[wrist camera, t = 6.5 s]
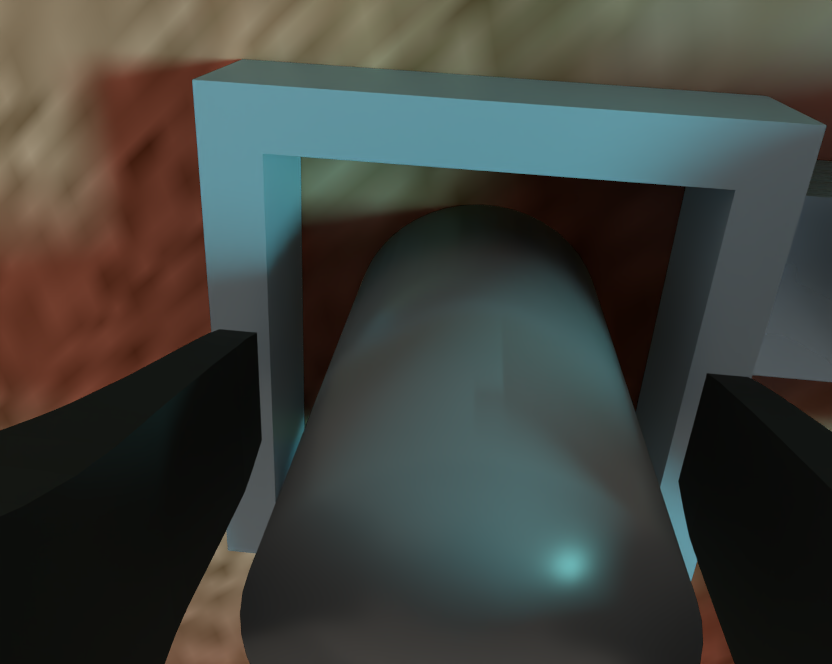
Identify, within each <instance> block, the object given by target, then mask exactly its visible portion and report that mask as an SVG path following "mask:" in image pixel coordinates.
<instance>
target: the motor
mask: <svg viewBox="0 0 832 664" xmlns="http://www.w3.org/2000/svg"><path fill="white" fill-rule="evenodd" d="M753 375H759V376H770V377H781V378H792V379H803V380H814V381H825V382H832V161H822V160H816V163H815V166H814V170H813V173H812V177H811V180H810V183H809V187H808V190H807V193H806V197H805V200H804V203H803V207H802V210H801V213H800V217H799V220H798V224H797V227H796V230H795V234H794V237H793V240H792V244H791V247H790V250H789V254H788V257H787V261H786V264H785V267H784V271H783V274H782V277H781V281H780V284H779V287H778V291H777V294H776V297H775V301H774V304H773V308H772V311H771V314H770V318H769V321H768V324H767V328H766V331H765V334H764V338H763V341H762V345H761V348H760V351H759V355H758V358H757V361H756V365H755V368H754V371H753Z"/></svg>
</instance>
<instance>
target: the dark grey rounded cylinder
mask: <svg viewBox="0 0 832 664" xmlns="http://www.w3.org/2000/svg"><path fill="white" fill-rule="evenodd" d="M240 620H241V635H242V639H243V643H244V647H245V652H246V655H247V658H248V660H249V663H250V664H700V661H701V654H702V647H703V634H702V620H701V615H700V611H699V607H698V603H697V599H696V596H695V593H694V590H693V587H692V584H691V580H690V577H689V574H688V571H687V568H686V565H685V562H684V559H683V556H682V553H681V550H680V547H679V544H678V541H677V538H676V535H675V532H674V529H673V526H672V522H671V519H670V516H669V513H668V510H667V507H666V504H665V501H664V498H663V495H662V492H661V489H660V486H659V483H658V480H657V477H656V474H655V471H654V468H653V465H652V461H651V458H650V455H649V452H648V449H647V446H646V443H645V440H644V437H643V434H642V431H641V428H640V425H639V422H638V419H637V416H636V413H635V410H634V407H633V404H632V400H631V397H630V394H629V391H628V388H627V385H626V382H625V379H624V376H623V373H622V370H621V367H620V364H619V361H618V358H617V355H616V352H615V349H614V346H613V342H612V339H611V336H610V333H609V330H608V327H607V324H606V321H605V318H604V315H603V312H602V309H601V306H600V303H599V300H598V297H597V294H596V291H595V288H594V285H593V282H592V279H591V277H590V274H589V272H588V270H587V268H586V266H585V264H584V263H583V261H582V259H581V258H580V256H579V255H578V253H577V252H576V251H575V250H574V248H573V247H572V246H571V245H570V244H569V243H568V242H567V241H566V240H565V239H564V238H563V237H562V236H561V235H560V234H559V233H558V232H556V231H555V230H553V229H552V228H551V227H549V226H548V225H546V224H545V223H543V222H541V221H539V220H537V219H535V218H533V217H531V216H529V215H527V214H524V213H521V212H518V211H516V210H513V209H508V208H503V207H499V206H490V205H462V206H456V207H450V208H445V209H442V210H439V211H435V212H432V213H429V214H427V215H425V216H423V217H421V218H418V219H416V220H414V221H413V222H411V223H410V224H408V225H406V226H405V227H403V228H402V229H401V230H399V231H398V232H397V233H396V234H394V235H393V236H392V237H391V238H390V239H389V240H388V241H387V242H386V243H385V244H384V245H383V246H382V247H381V249H380V250H379V251H378V253H377V254H376V255H375V257H374V258H373V260H372V261H371V263H370V265H369V267H368V269H367V271H366V273H365V275H364V278H363V280H362V283H361V285H360V288H359V290H358V293H357V296H356V298H355V301H354V303H353V306H352V308H351V311H350V313H349V316H348V319H347V321H346V324H345V326H344V329H343V331H342V334H341V337H340V339H339V342H338V344H337V347H336V349H335V352H334V355H333V357H332V360H331V362H330V365H329V367H328V370H327V373H326V375H325V378H324V380H323V383H322V385H321V388H320V390H319V393H318V396H317V398H316V401H315V403H314V406H313V408H312V411H311V414H310V416H309V419H308V421H307V424H306V426H305V429H304V432H303V434H302V437H301V439H300V442H299V444H298V447H297V450H296V452H295V455H294V457H293V460H292V462H291V465H290V467H289V470H288V473H287V475H286V478H285V480H284V483H283V485H282V488H281V491H280V493H279V496H278V498H277V501H276V503H275V506H274V509H273V511H272V514H271V516H270V519H269V521H268V524H267V527H266V529H265V532H264V534H263V537H262V539H261V542H260V545H259V547H258V550H257V552H256V555H255V557H254V560H253V562H252V565H251V568H250V570H249V573H248V576H247V580H246V583H245V586H244V589H243V593H242V601H241V610H240Z"/></svg>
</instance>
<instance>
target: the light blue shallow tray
mask: <svg viewBox="0 0 832 664" xmlns="http://www.w3.org/2000/svg"><path fill="white" fill-rule="evenodd" d="M192 84H193V97H194V110H195V123H196V136H197V149H198V162H199V175H200V189H201V202H202V215H203V228H204V241H205V254H206V267H207V280H208V293H209V307H210V320H211V332H213V331H216V330H218V329H224V330H235V331H246V332H257V343H258V365H259V387H260V409H261V431H262V442H261V445H260V448H259V451H258V454H257V457H256V461H255V464H254V467H253V470H252V473H251V476H250V479H249V482H248V485H247V487H246V490H245V493H244V495H243V497H242V499H241V501H240V503H239V505H238V507H237V509H236V511H235V514H234V516H233V518H232V520H231V522H230V524H229V526H228V528H227V543H228V550H229V551H239V552H248V553H256V552H257V550H258V547H259V545H260V542H261V539H262V537H263V534H264V532H265V529H266V527H267V524H268V521H269V519H270V516H271V514H272V511H273V509H274V506H275V503H276V501H277V498H278V496H279V493H280V491H281V488H282V485H283V483H284V480H285V478H286V475H287V473H288V470H289V467H290V465H291V462H292V460H293V457H294V455H295V452H296V450H297V447H298V444H299V442H300V439H301V437H302V434H303V432H304V361H303V291H302V221H301V157H313V158H325V159H338V160H351V161H364V162H377V163H390V164H403V165H416V166H429V167H442V168H455V169H468V170H481V171H494V172H507V173H520V174H533V175H546V176H558V177H571V178H584V179H597V180H610V181H623V182H636V183H649V184H662V185H675V186H686V188H685V193H684V197H683V202H682V206H681V211H680V215H679V220H678V224H677V229H676V233H675V238H674V242H673V247H672V251H671V256H670V260H669V265H668V269H667V274H666V278H665V283H664V287H663V292H662V296H661V301H660V305H659V310H658V314H657V319H656V323H655V328H654V332H653V337H652V341H651V346H650V350H649V355H648V359H647V364H646V368H645V373H644V377H643V382H642V386H641V391H640V395H639V400H638V404H637V409H636V416H637V419H638V422H639V425H640V428H641V431H642V434H643V437H644V440H645V443H646V446H647V449H648V452H649V455H650V458H651V461H652V465H653V468H654V471H655V474H656V477H657V480H658V483H659V486H660V489H661V492H662V495H663V498H664V501H665V504H666V507H667V510H668V513H669V516H670V519H671V522H672V526H673V529H674V532H675V535H676V538H677V541H678V544H679V547H680V550H681V553H682V556H683V559H684V562H685V565H686V568H687V571H688V574H689V577H690V580H692V576H693V573H694V570H695V566H696V563H697V558H696V555H695V553H694V550H693V547H692V544H691V541H690V538H689V534H688V529H687V524H686V520H685V515H684V510H683V505H682V499H681V494H680V489H679V483H678V480H679V476H680V472H681V469H682V465H683V461H684V457H685V454H686V450H687V446H688V442H689V439H690V435H691V431H692V427H693V424H694V420H695V416H696V412H697V408H698V405H699V401H700V397H701V393H702V390H703V386H704V382H705V378H706V375H707V373H710V374H721V375H732V376H743V377H749V378H752V375H753V371H754V368H755V365H756V361H757V358H758V355H759V351H760V348H761V345H762V341H763V338H764V334H765V331H766V328H767V324H768V321H769V318H770V314H771V311H772V308H773V304H774V301H775V297H776V294H777V291H778V287H779V284H780V281H781V277H782V274H783V271H784V267H785V264H786V261H787V257H788V254H789V250H790V247H791V244H792V240H793V237H794V234H795V230H796V227H797V224H798V220H799V217H800V213H801V210H802V207H803V203H804V200H805V197H806V193H807V190H808V187H809V183H810V180H811V177H812V173H813V170H814V166H815V163H816V160H817V156H818V153H819V150H820V146H821V143H822V140H823V136H824V133H825V130H826V126H827V125H825V124H823V123H821V122H819V121H817V120H815V119H813V118H811V117H809V116H807V115H805V114H802V113H800V112H798V111H796V110H794V109H792V108H790V107H788V106H786V105H784V104H782V103H780V102H778V101H776V100H774V99H772V98H770V97H768V96H759V95H745V94H731V93H717V92H703V91H688V90H674V89H660V88H646V87H631V86H617V85H603V84H589V83H575V82H560V81H546V80H532V79H518V78H504V77H489V76H475V75H461V74H447V73H433V72H418V71H404V70H390V69H376V68H362V67H347V66H333V65H319V64H305V63H291V62H276V61H262V60H248V59H242V60H240V61H237V62H235V63H232V64H230V65H227V66H225V67H222V68H220V69H217V70H215V71H212V72H210V73H207V74H205V75H203V76H200V77H198V78H195V79H193V80H192Z"/></svg>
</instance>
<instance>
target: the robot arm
mask: <svg viewBox="0 0 832 664" xmlns="http://www.w3.org/2000/svg"><path fill="white" fill-rule="evenodd" d="M261 442H262V431H261V409H260V387H259V365H258V343H257V332H246V331H235V330H224V329H218V330H216V331H213V332H211V333H209V334H206V335H204V336H202V337H200V338H198V339H196V340H194V341H192V342H191V343H189V344H187V345H185V346H183V347H181V348H179V349H177V350H176V351H174V352H172V353H170V354H168V355H166V356H164V357H163V358H161V359H159V360H157V361H155V362H153V363H151V364H149V365H148V366H146V367H144V368H142V369H140V370H138V371H136V372H134V373H132V374H131V375H129V376H127V377H125V378H123V379H120V380H118V381H116V382H114V383H112V384H110V385H108V386H106V387H104V388H102V389H100V390H97V391H95V392H93V393H91V394H89V395H87V396H85V397H83V398H81V399H79V400H77V401H74V402H72V403H70V404H68V405H65V406H63V407H61V408H58V409H56V410H53V411H51V412H48V413H46V414H44V415H41V416H38V417H36V418H33V419H30V420H28V421H25V422H22V423H20V424H17V425H14V426H12V427H9V428H6V429H3V430H0V664H165V661H166V659H167V656H168V653H169V651H170V648H171V645H172V643H173V640H174V637H175V635H176V632H177V630H178V628H179V625H180V623H181V621H182V619H183V616H184V614H185V612H186V610H187V607H188V605H189V603H190V601H191V599H192V597H193V595H194V593H195V591H196V589H197V587H198V585H199V583H200V581H201V579H202V578H203V576H204V574H205V572H206V570H207V568H208V566H209V564H210V562H211V560H212V558H213V556H214V554H215V552H216V550H217V548H218V546H219V544H220V542H221V540H222V538H223V536H224V534H225V532H226V530H227V528H228V526H229V524H230V522H231V520H232V518H233V516H234V514H235V511H236V509H237V507H238V505H239V503H240V501H241V499H242V497H243V495H244V493H245V490H246V487H247V485H248V482H249V479H250V476H251V473H252V470H253V467H254V464H255V461H256V457H257V454H258V451H259V448H260V445H261ZM678 483H679V489H680V494H681V499H682V505H683V510H684V515H685V520H686V524H687V529H688V534H689V538H690V541H691V544H692V547H693V550H694V553H695V555H696V558H697V561H698V564H699V567H700V570H701V572H702V575H703V578H704V581H705V584H706V586H707V589H708V592H709V595H710V597H711V600H712V603H713V605H714V608H715V611H716V614H717V616H718V619H719V622H720V625H721V627H722V630H723V633H724V636H725V638H726V641H727V644H728V647H729V649H730V652H731V655H732V657H733V660H734V663H735V664H832V432H831V431H830V430H828V429H827V428H826V427H824V426H823V425H821V424H820V423H818V422H817V421H815V420H814V419H812V418H811V417H810V416H808V415H807V414H805V413H804V412H802V411H801V410H799V409H798V408H797V407H795V406H794V405H792V404H791V403H789V402H788V401H786V400H785V399H783V398H782V397H780V396H779V395H777V394H776V393H774V392H773V391H771V390H770V389H768V388H767V387H765V386H763V385H762V384H760V383H758V382H757V381H755V380H753V379H751V378H749V377H743V376H732V375H721V374H710V373H707V375H706V378H705V382H704V386H703V390H702V393H701V397H700V401H699V405H698V408H697V412H696V416H695V420H694V424H693V427H692V431H691V435H690V439H689V442H688V446H687V450H686V454H685V457H684V461H683V465H682V469H681V472H680V476H679V480H678Z"/></svg>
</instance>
